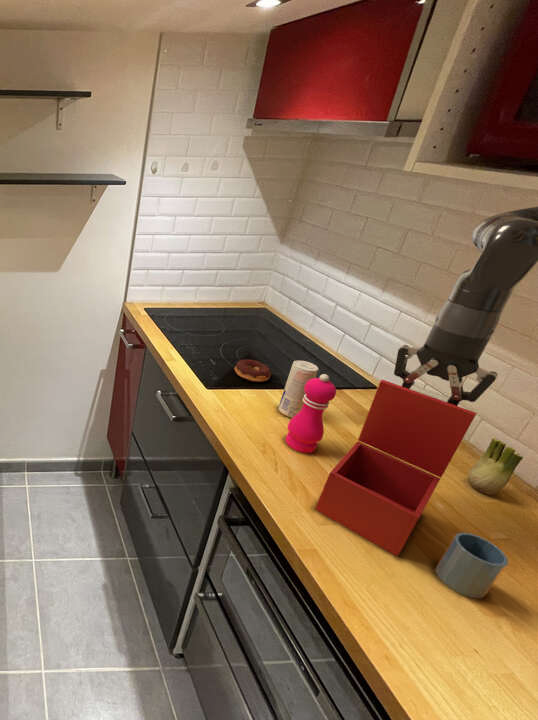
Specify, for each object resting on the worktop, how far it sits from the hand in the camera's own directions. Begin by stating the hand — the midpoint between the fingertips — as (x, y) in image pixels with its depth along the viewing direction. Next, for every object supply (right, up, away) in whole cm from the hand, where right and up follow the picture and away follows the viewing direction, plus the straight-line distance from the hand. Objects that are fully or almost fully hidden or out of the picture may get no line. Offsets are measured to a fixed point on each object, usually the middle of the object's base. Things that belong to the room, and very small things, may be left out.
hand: (423, 405), depth 87 cm
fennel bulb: (+22, -20, +10) cm, 31 cm away
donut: (-5, -1, +52) cm, 52 cm away
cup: (-3, -29, -10) cm, 30 cm away
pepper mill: (-9, -14, +22) cm, 28 cm away
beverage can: (-4, -9, +34) cm, 36 cm away
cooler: (-8, -22, +4) cm, 24 cm away
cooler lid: (-3, -5, -1) cm, 6 cm away
